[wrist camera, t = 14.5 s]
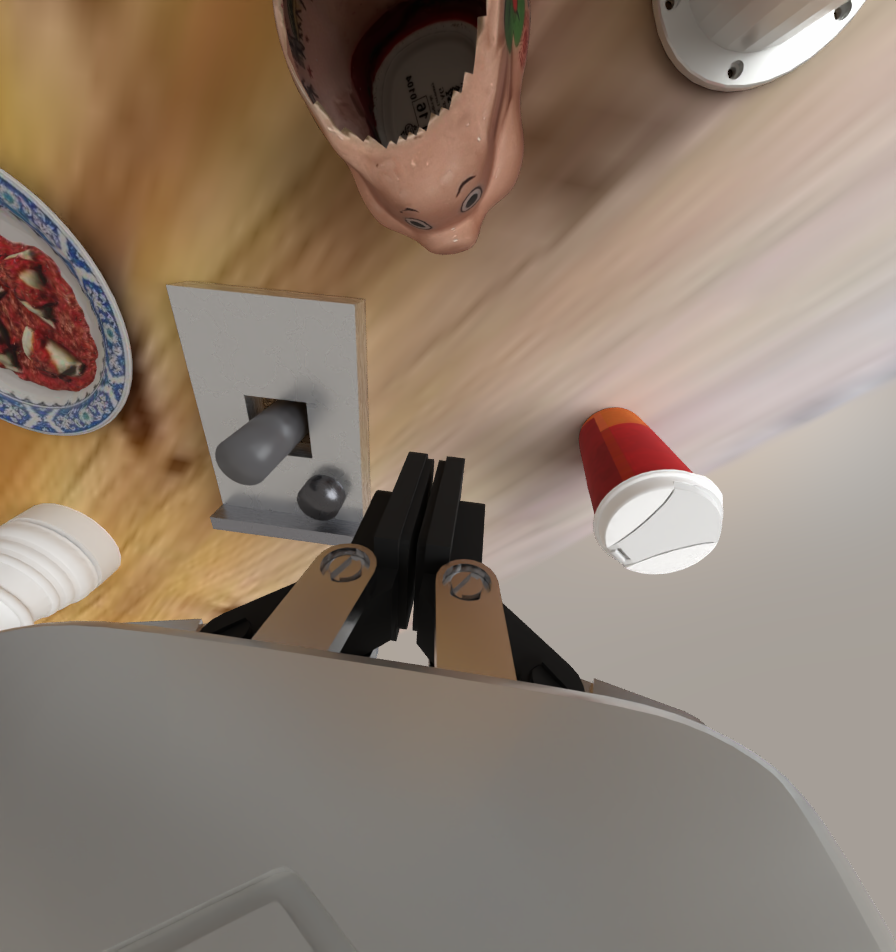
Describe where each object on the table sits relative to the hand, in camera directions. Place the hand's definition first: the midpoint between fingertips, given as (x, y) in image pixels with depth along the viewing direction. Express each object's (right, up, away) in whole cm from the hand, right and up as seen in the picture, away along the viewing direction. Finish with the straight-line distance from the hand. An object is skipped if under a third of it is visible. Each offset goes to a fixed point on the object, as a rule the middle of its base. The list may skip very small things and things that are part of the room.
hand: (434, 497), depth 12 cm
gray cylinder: (-16, +7, +30) cm, 34 cm away
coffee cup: (+16, +5, +27) cm, 32 cm away
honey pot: (-51, -8, +44) cm, 68 cm away
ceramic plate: (-42, +17, +27) cm, 53 cm away
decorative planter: (-1, +27, +16) cm, 32 cm away
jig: (-16, +7, +30) cm, 34 cm away
